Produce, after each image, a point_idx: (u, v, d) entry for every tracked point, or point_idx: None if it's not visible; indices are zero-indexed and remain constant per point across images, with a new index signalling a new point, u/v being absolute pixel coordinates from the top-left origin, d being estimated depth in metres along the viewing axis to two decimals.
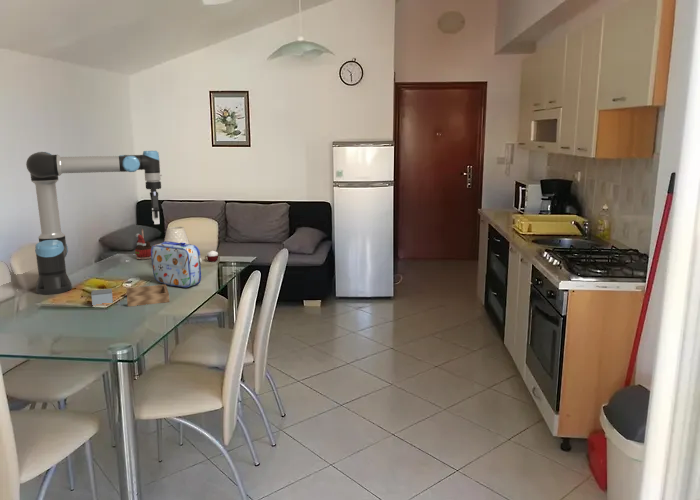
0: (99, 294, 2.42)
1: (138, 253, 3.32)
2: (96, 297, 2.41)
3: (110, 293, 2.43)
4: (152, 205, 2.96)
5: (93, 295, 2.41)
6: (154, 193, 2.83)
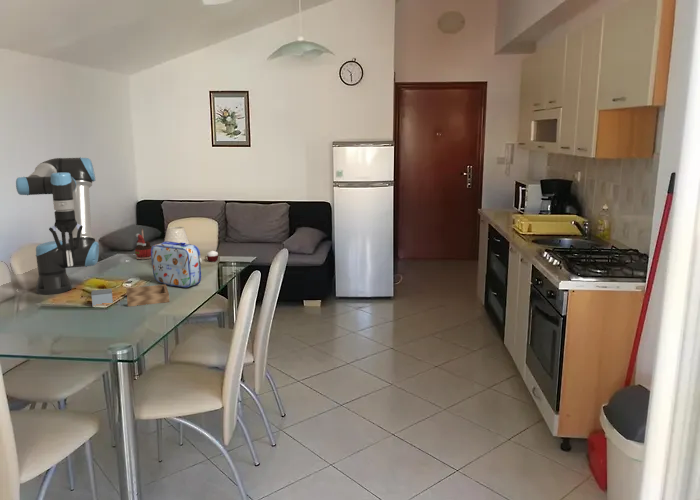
0: (99, 294, 2.42)
1: (138, 253, 3.32)
2: (96, 297, 2.41)
3: (110, 293, 2.43)
4: None
5: (93, 295, 2.41)
6: None
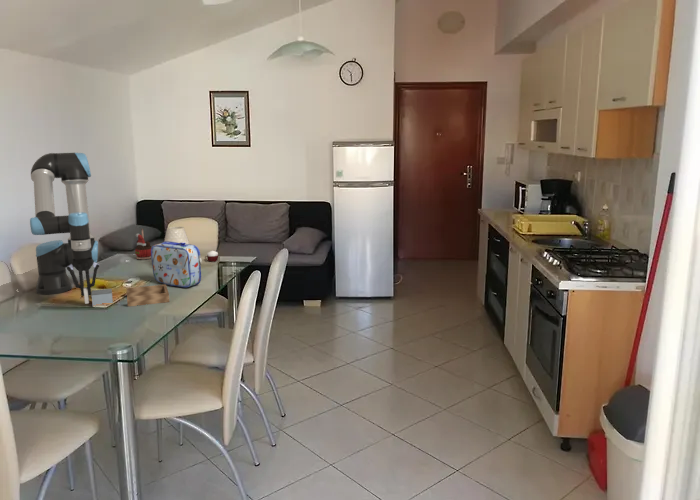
0: (99, 294, 2.42)
1: (138, 253, 3.32)
2: (96, 297, 2.41)
3: (110, 293, 2.43)
4: None
5: (93, 295, 2.41)
6: None
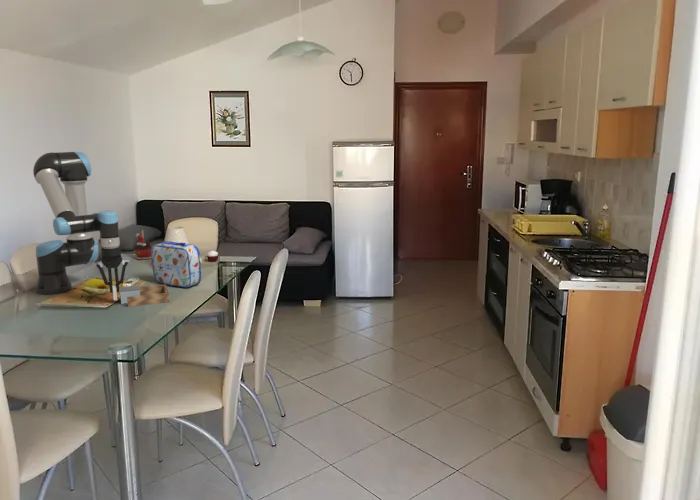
0: (128, 291, 2.46)
1: (138, 253, 3.32)
2: (125, 294, 2.45)
3: (138, 290, 2.47)
4: None
5: (122, 292, 2.45)
6: (97, 266, 2.42)
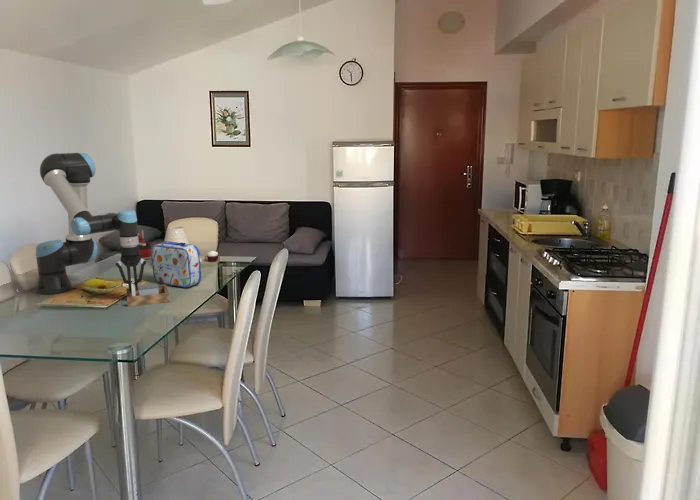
0: (146, 289, 2.49)
1: None
2: (143, 292, 2.49)
3: (157, 288, 2.51)
4: None
5: (141, 290, 2.48)
6: (116, 265, 2.45)
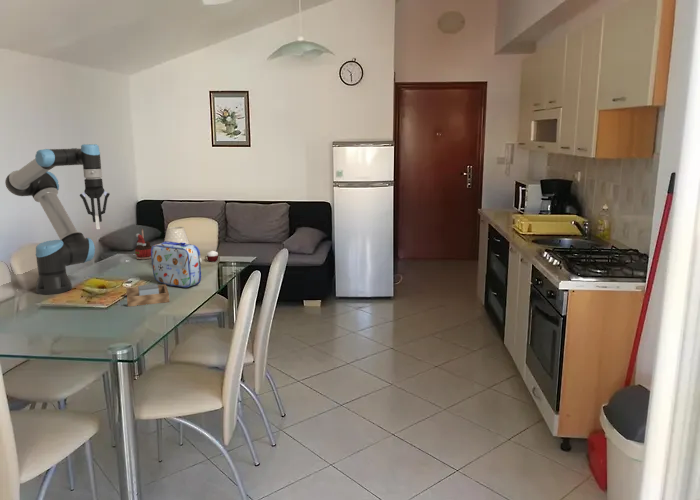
0: (147, 289, 2.49)
1: (138, 253, 3.32)
2: (144, 292, 2.49)
3: (157, 288, 2.51)
4: None
5: (141, 290, 2.48)
6: (80, 196, 2.58)
